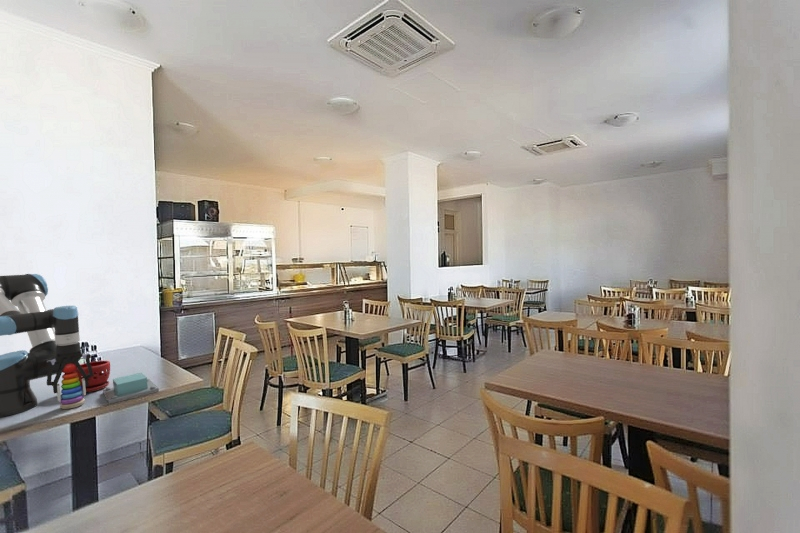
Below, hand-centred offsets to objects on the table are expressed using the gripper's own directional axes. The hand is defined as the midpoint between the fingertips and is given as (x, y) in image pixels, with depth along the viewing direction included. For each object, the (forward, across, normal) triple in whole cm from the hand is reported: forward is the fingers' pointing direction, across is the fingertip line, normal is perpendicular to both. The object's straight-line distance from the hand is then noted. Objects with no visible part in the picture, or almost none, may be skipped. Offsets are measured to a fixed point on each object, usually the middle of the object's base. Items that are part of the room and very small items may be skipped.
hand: (72, 397), depth 156 cm
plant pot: (+4, +9, +20) cm, 22 cm away
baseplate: (+4, +20, 0) cm, 20 cm away
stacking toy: (+4, 0, 0) cm, 4 cm away
